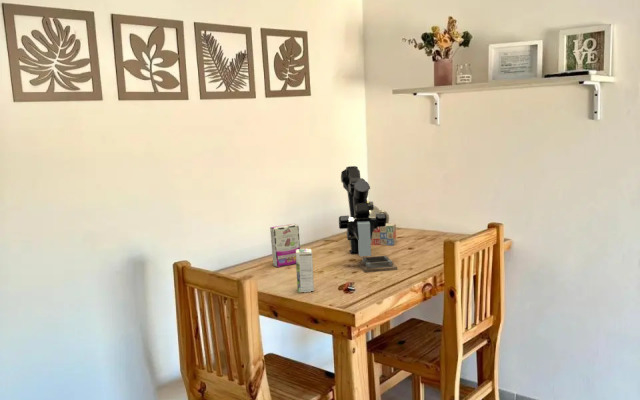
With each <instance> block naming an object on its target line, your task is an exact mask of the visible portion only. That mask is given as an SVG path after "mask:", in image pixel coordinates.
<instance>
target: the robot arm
mask: <svg viewBox="0 0 640 400" xmlns="http://www.w3.org/2000/svg"><path fill="white" fill-rule="evenodd" d="M360 172H361V171H360V170H359V168H358V166H355V165H353V166H352V165H351V166H346V168H345V169H343V170H342V171H341V174H340V182H341V183H342V188H343V189H345V191H346V193H347V201H348V209H349V215H340V216H339V217H338V228H339V230H346V239H347V241H349V240H350V241H351V244H350V249H349V251H348V252H349V253H350V254H351V255H359V250H358V240H359V236H358V227H357V222H360V221H369V223H370V239H371V238H372V234H373V232H374V229H376V228H377V227H384V226H386V220H387V218H386V215H385V214H383V213H381V214H376V218H369V216H370V211H369V210H373V209H374V206H375V205H374V201H369V202H368V203H367V201H368V197H369V192H370V190H371V186H370V184H369V182H367V181H366V180H365V178H361V173H360ZM373 205H374V206H373ZM349 236H351V237H349Z"/></svg>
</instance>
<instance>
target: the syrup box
mask: <svg viewBox="0 0 640 400" xmlns="http://www.w3.org/2000/svg"><path fill="white" fill-rule="evenodd" d="M313 261H314V260H313V250H312V248H300V249H297V250H296V264H295V268H296V270H295V271H296V285H297V286H296V287H297V293H298V294H299V292H304V293H312V292H311V291H314V292H315V288H314V287H315V285H314V263H313Z"/></svg>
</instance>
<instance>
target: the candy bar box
mask: <svg viewBox="0 0 640 400" xmlns="http://www.w3.org/2000/svg"><path fill="white" fill-rule="evenodd" d="M269 229H270V238H271V239H270V241H271V242H270V243H271V253H272V255H271V256H272V266H273V267H276V268H282V267H287V266H292V265H296V250H297V249H301V244H300V232H299V231H300V228H299V225H298V224H296V223H290V224H284V225H278V226H271V227H270V228H269Z"/></svg>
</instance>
